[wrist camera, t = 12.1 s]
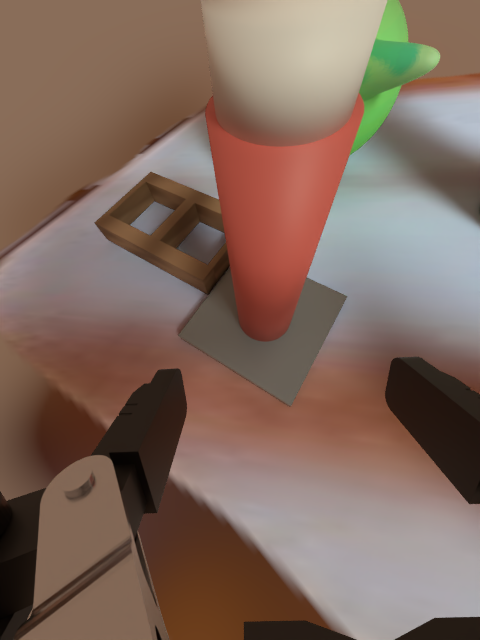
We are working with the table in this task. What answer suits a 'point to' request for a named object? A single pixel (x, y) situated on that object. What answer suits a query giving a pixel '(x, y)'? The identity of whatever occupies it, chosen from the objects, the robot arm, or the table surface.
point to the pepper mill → (282, 136)
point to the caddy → (167, 229)
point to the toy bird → (390, 70)
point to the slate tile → (265, 357)
